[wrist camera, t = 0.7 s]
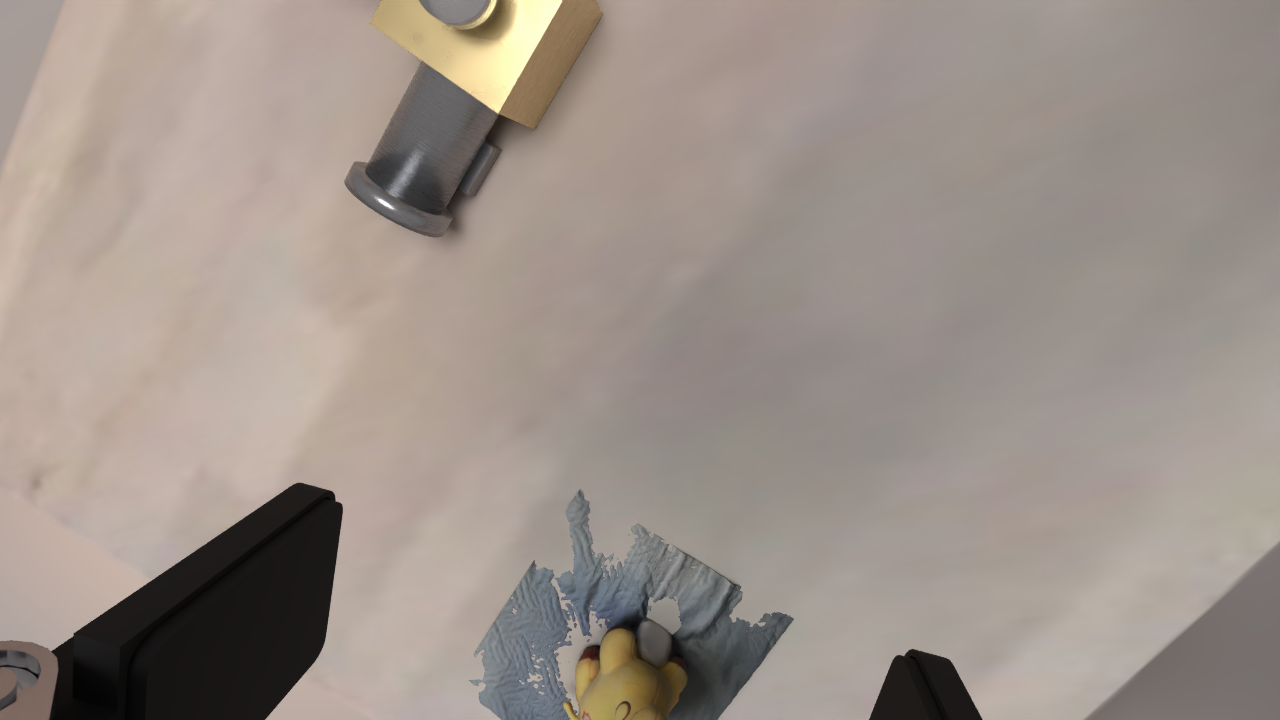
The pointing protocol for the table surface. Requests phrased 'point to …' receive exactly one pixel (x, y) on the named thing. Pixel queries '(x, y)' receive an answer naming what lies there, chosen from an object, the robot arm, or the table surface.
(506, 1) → the valve pipe
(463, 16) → the valve lever
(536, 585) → the stuffed giraffe
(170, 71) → the table surface
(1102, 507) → the table surface
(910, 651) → the robot arm
